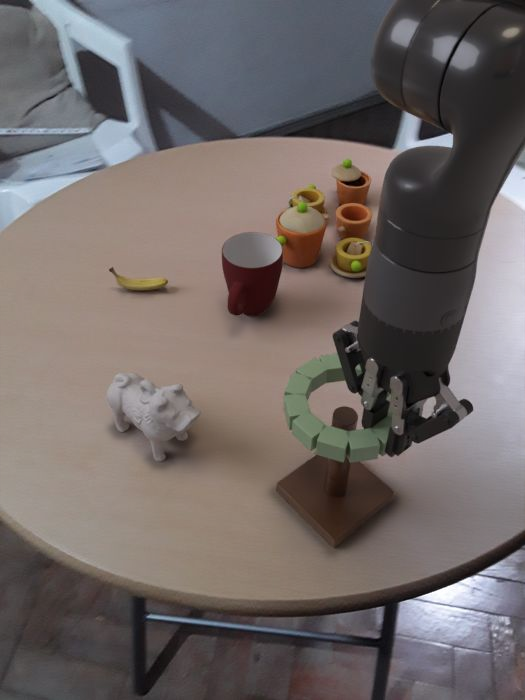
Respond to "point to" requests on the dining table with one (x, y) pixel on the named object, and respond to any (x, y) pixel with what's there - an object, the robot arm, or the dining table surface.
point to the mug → (251, 272)
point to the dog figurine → (151, 409)
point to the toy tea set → (310, 224)
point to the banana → (139, 282)
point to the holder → (335, 490)
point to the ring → (314, 430)
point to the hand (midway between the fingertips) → (384, 440)
